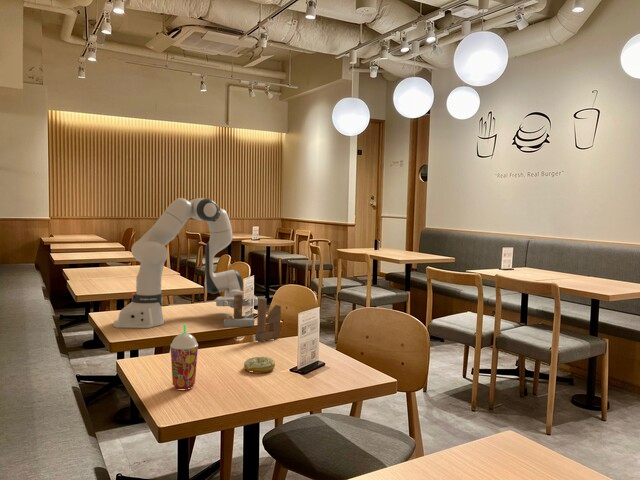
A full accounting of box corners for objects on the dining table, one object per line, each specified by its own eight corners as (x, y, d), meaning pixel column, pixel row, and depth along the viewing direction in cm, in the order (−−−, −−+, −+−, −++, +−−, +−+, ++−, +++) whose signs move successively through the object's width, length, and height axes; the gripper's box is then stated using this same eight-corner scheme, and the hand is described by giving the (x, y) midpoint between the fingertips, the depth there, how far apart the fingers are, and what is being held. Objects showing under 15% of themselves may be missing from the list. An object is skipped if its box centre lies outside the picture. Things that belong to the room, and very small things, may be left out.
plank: (234, 324, 253) (235, 295, 252) (233, 322, 256) (234, 293, 255) (242, 324, 254) (242, 295, 253) (240, 322, 257) (241, 293, 256)
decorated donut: (242, 366, 191) (242, 356, 190) (271, 364, 194) (271, 354, 193) (246, 375, 181) (246, 364, 180) (277, 373, 184) (277, 362, 183)
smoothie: (165, 387, 167) (165, 323, 165) (188, 381, 172) (189, 320, 171) (178, 394, 161) (179, 329, 159) (202, 388, 167) (203, 325, 165)
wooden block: (280, 338, 230) (281, 297, 229) (260, 342, 223) (261, 299, 222) (274, 336, 233) (276, 295, 232) (254, 340, 226) (255, 298, 225)
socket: (224, 326, 248) (224, 320, 247) (222, 322, 256) (222, 316, 256) (254, 325, 251) (254, 319, 251) (251, 321, 260) (251, 315, 259)
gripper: (214, 293, 264) (216, 298, 250) (255, 292, 269) (259, 297, 256) (214, 305, 264) (216, 311, 251) (255, 304, 270) (259, 310, 256)
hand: (238, 304), depth 254 cm, fingers open, 8 cm apart
